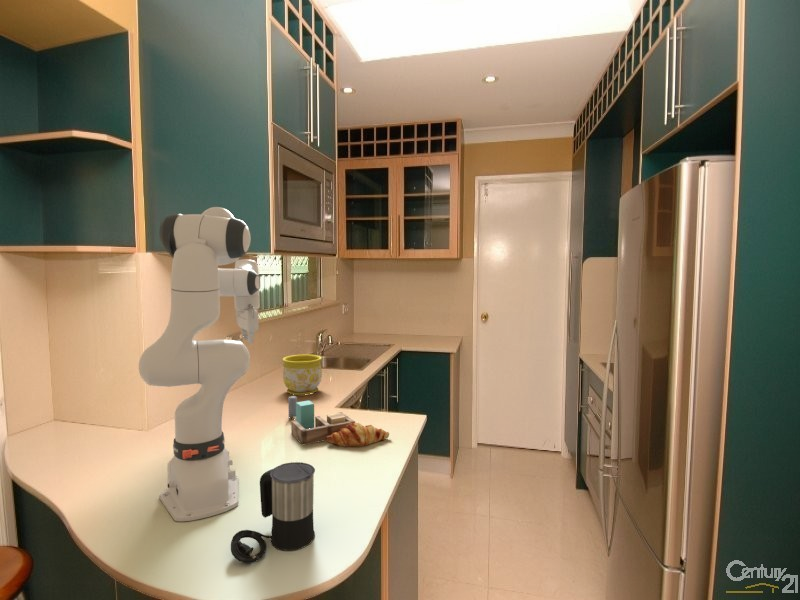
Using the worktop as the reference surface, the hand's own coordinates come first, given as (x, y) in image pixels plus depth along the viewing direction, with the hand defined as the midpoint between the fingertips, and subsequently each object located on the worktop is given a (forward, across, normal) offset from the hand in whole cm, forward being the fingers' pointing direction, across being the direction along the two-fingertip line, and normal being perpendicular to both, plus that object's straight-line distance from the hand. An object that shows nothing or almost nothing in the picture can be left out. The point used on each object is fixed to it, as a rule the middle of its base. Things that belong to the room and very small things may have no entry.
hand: (247, 341), depth 163 cm
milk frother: (+32, -78, +12) cm, 85 cm away
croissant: (+32, -37, -27) cm, 56 cm away
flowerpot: (+31, +31, -31) cm, 54 cm away
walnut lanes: (+31, -24, -20) cm, 44 cm away
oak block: (+31, -25, -24) cm, 47 cm away
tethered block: (+31, -9, -16) cm, 36 cm away
